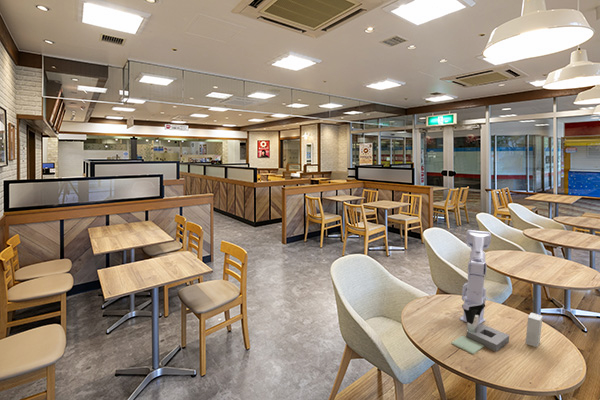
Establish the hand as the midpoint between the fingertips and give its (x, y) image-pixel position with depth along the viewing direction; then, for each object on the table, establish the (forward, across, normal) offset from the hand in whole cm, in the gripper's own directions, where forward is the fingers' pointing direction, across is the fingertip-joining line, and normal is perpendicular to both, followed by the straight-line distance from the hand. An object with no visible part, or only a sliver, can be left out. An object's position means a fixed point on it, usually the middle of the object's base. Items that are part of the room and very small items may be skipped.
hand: (472, 321), depth 130 cm
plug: (+4, 0, 0) cm, 4 cm away
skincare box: (+11, -23, +15) cm, 29 cm away
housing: (+10, -10, +2) cm, 14 cm away
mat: (+10, +1, 0) cm, 11 cm away
